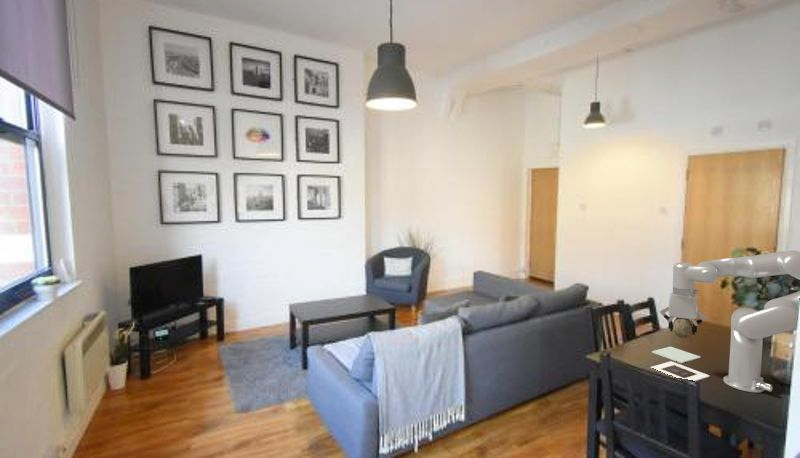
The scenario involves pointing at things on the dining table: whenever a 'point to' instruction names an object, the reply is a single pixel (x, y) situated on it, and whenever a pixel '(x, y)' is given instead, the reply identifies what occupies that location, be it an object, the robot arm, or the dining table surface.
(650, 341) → the dining table surface
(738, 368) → the robot arm
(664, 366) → the white square frame
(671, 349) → the sage mat
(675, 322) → the decorative egg
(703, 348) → the dining table surface
